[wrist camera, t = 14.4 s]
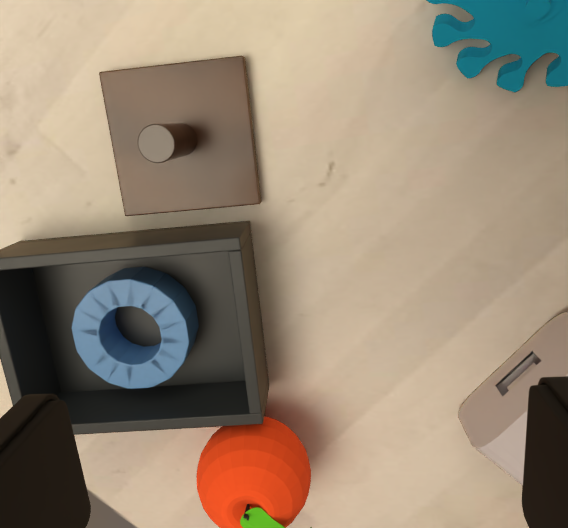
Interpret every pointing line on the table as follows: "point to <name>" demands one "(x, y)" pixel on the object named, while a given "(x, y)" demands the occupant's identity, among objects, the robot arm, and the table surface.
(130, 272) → the tape roll
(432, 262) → the table surface
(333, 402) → the table surface
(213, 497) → the clementine
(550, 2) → the teal lobed piece
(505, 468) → the charger
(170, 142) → the peg stand
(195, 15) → the table surface
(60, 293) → the bin
